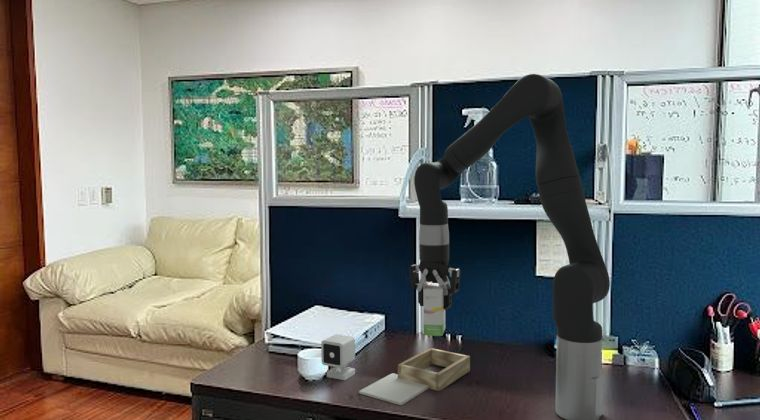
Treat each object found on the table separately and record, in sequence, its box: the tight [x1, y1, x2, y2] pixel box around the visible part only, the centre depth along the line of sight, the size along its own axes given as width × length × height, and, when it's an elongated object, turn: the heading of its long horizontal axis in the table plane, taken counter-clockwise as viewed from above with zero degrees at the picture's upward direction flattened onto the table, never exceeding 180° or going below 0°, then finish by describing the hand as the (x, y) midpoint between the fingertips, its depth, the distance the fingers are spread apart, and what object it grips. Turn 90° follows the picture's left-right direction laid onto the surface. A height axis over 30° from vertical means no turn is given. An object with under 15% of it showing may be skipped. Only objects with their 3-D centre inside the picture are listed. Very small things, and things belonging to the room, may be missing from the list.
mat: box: [358, 372, 430, 406], centre depth 142 cm, size 12×14×1 cm
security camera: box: [320, 333, 356, 381], centre depth 150 cm, size 6×7×10 cm
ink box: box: [423, 275, 446, 337], centre depth 149 cm, size 9×5×15 cm, turn 169°
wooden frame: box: [397, 347, 471, 392], centre depth 150 cm, size 12×16×4 cm
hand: (434, 307), depth 149 cm, fingers closed on ink box, 6 cm apart
